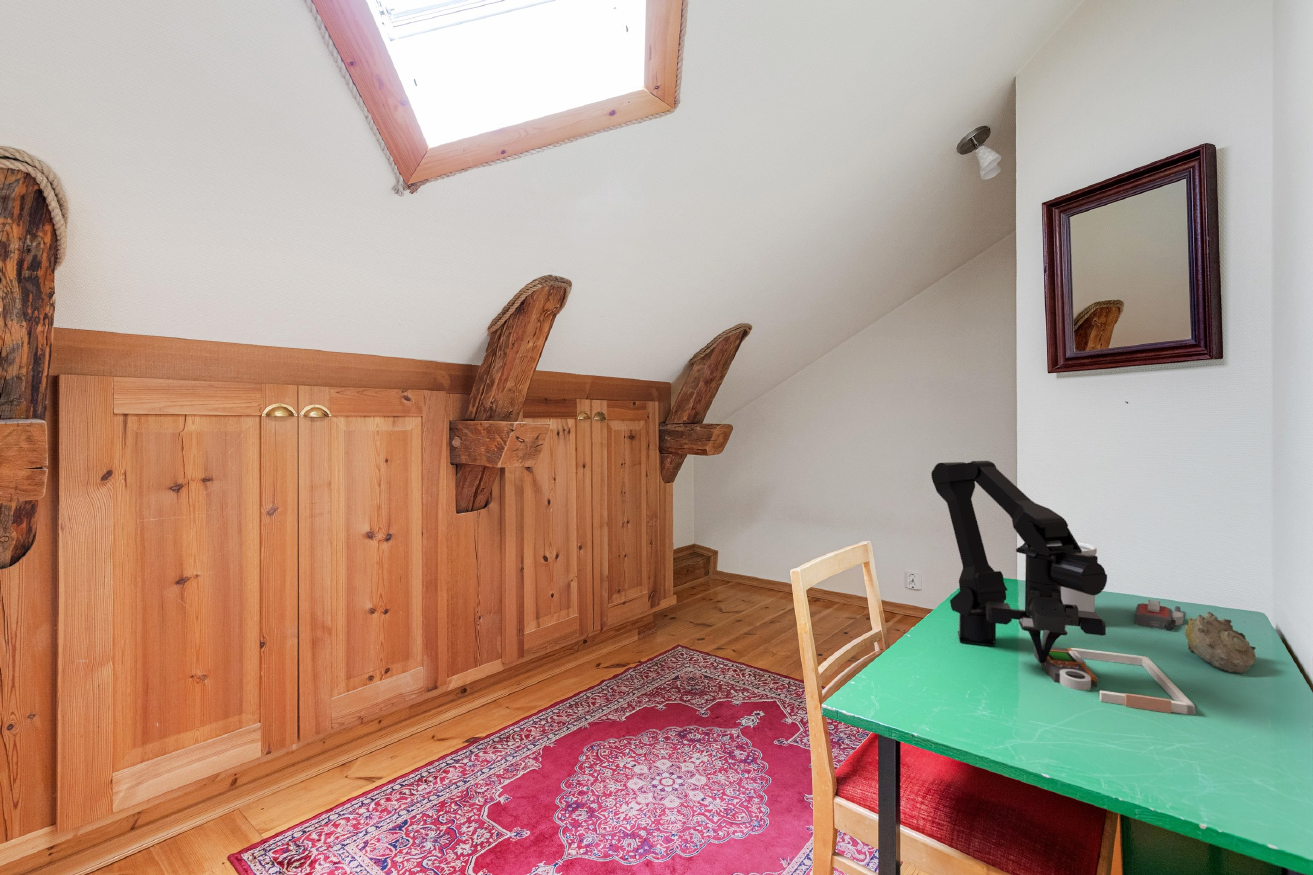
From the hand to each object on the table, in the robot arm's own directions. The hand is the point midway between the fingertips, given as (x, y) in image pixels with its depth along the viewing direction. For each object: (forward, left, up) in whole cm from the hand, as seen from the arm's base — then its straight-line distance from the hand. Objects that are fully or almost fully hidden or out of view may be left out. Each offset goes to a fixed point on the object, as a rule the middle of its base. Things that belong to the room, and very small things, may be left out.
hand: (1041, 662), depth 115 cm
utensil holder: (+10, +39, -2) cm, 40 cm away
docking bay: (+13, 0, -2) cm, 13 cm away
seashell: (+33, +18, -2) cm, 37 cm away
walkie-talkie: (+32, +46, -2) cm, 56 cm away
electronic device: (+4, 0, -2) cm, 5 cm away
